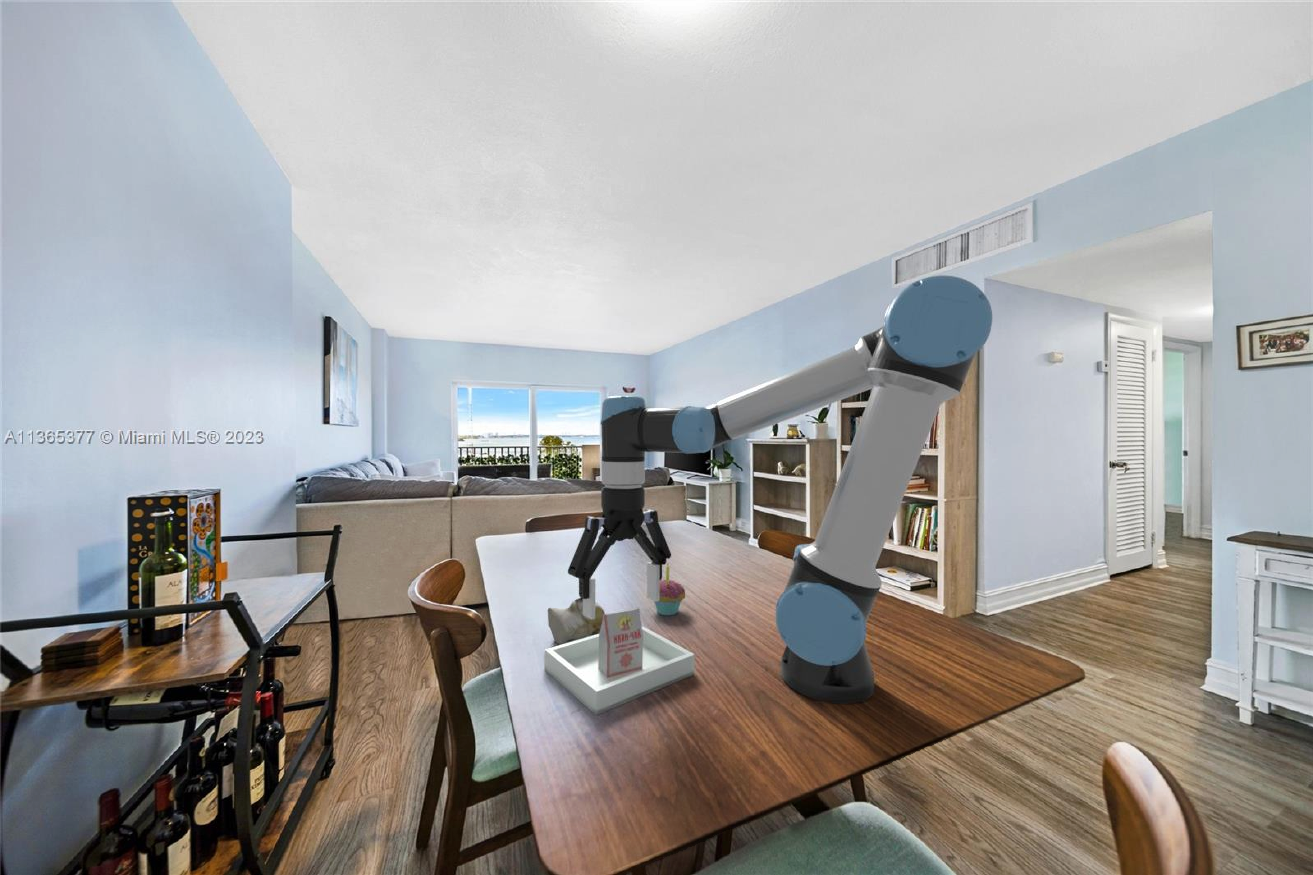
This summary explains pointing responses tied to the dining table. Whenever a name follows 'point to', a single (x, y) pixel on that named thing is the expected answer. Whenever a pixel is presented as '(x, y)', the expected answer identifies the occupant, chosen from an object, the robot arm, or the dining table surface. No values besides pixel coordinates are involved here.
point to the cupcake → (669, 596)
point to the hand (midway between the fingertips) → (622, 607)
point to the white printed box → (620, 643)
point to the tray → (601, 693)
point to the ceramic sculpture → (574, 622)
